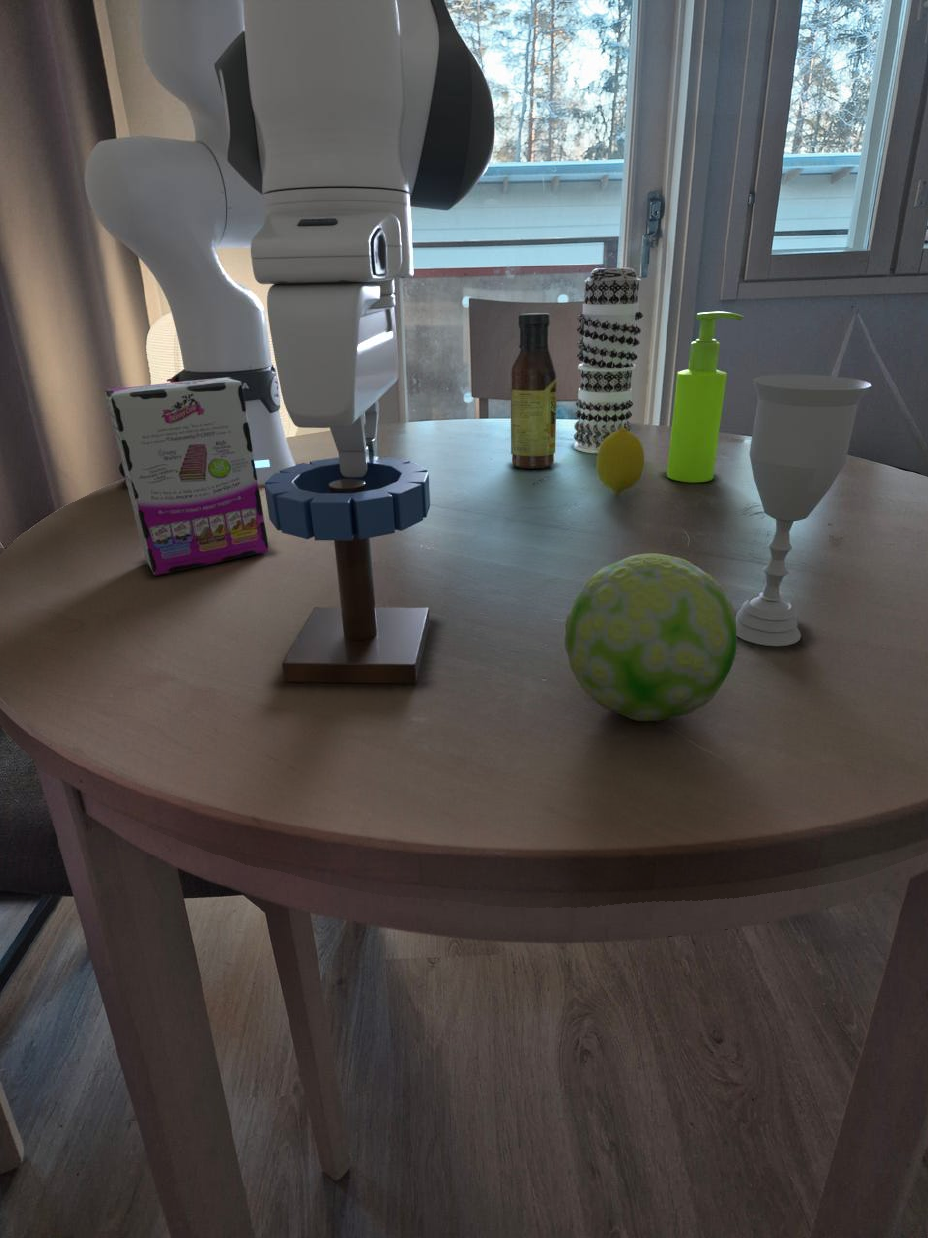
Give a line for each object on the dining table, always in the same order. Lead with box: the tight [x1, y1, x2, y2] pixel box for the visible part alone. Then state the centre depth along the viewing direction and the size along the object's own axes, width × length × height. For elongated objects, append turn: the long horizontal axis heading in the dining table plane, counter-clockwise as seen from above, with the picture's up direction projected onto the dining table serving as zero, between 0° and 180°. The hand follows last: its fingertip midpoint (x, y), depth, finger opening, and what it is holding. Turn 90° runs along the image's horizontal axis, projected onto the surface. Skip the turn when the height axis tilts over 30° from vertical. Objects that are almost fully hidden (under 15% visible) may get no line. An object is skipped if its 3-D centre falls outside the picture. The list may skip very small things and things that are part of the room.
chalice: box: [735, 374, 872, 647], centre depth 50 cm, size 7×7×18 cm
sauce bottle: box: [510, 312, 558, 470], centre depth 97 cm, size 7×6×20 cm
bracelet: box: [263, 455, 431, 541], centre depth 47 cm, size 10×10×2 cm
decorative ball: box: [564, 552, 738, 722], centre depth 43 cm, size 10×10×10 cm
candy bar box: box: [104, 377, 270, 576], centre depth 67 cm, size 11×5×16 cm, turn 122°
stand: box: [281, 479, 430, 685], centre depth 50 cm, size 9×9×12 cm
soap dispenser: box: [666, 311, 745, 483], centre depth 90 cm, size 6×7×20 cm
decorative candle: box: [573, 267, 644, 454], centre depth 105 cm, size 9×9×25 cm
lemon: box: [596, 428, 645, 495], centre depth 86 cm, size 6×6×8 cm
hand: (360, 469), depth 51 cm, fingers closed on bracelet, 2 cm apart
